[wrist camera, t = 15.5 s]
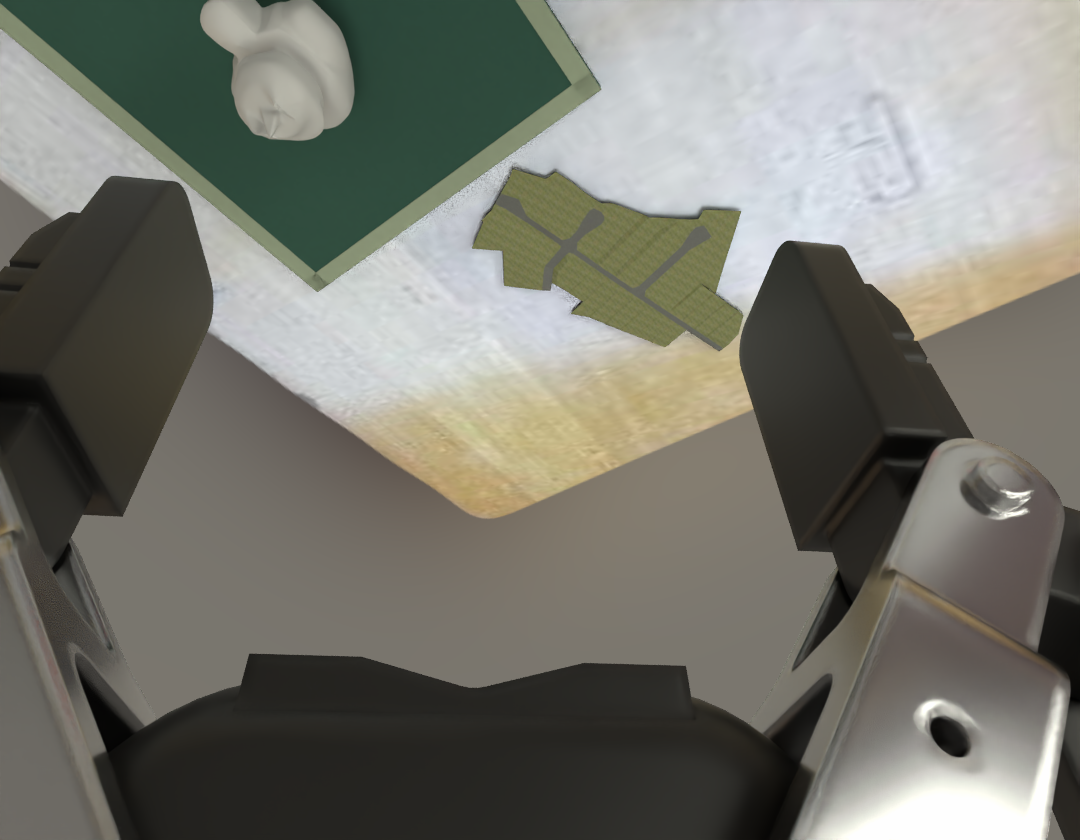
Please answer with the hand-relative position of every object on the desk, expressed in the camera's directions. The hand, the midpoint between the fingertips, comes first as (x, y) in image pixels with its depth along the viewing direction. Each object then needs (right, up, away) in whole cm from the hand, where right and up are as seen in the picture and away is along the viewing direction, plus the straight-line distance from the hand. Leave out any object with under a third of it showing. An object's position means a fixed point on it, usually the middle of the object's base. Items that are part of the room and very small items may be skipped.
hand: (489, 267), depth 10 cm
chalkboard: (-10, +15, +22) cm, 28 cm away
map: (+6, +7, +31) cm, 32 cm away
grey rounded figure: (-10, +15, +22) cm, 28 cm away
